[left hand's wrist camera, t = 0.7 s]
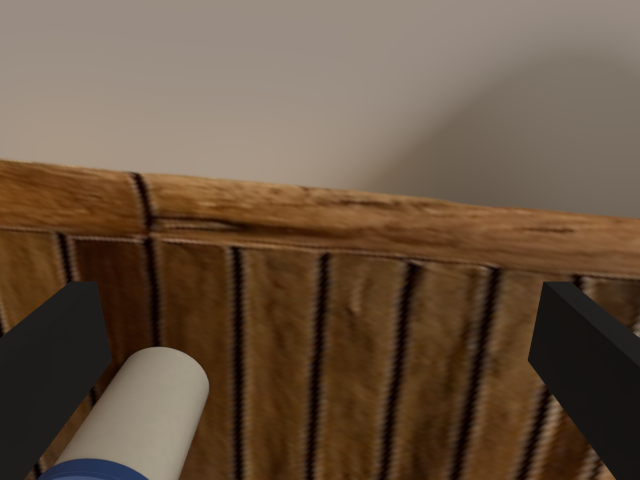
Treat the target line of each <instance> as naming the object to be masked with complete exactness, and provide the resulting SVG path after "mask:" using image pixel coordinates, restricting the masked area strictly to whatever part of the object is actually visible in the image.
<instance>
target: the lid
mask: <svg viewBox="0 0 640 480" xmlns="http://www.w3.org/2000/svg"><path fill="white" fill-rule="evenodd" d="M37 480H149V479H148V478H146V477H145V476H143V475H142V474H141V473H139V472H137V471H135V470H134V469H132V468H129V467H127V466H125V465H122V464H119V463H116V462H112V461H108V460H103V459H92V458H84V459H74V460H69V461H65V462H62V463H59V464H57V465H55V466H53V467H51V468H50V469H48V470H46V471H45V472H44V473H43V474H42V475H41V476H40V477H39V478H38V479H37Z"/></svg>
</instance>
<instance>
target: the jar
mask: <svg viewBox="0 0 640 480" xmlns="http://www.w3.org/2000/svg"><path fill="white" fill-rule="evenodd" d="M208 394H209V383H208V379H207V376H206V374H205V372H204V370H203V369H202V367H201V366H200V365H199V364H198V363H197V362H196V361H195V360H194V359H193V358H191V357H190V356H188V355H187V354H185V353H183V352H181V351H178V350H175V349H171V348H166V347H151V348H146V349H143V350H140V351H138V352H136V353H134V354H133V355H131V356H130V357H129V358H128V359H127V360H126V361H125V362H124V364H123V365H122V366H121V368H120V369H119V371H118V372H117V374H116V375H115V377H114V378H113V379H112V381H111V382H110V384H109V385H108V387H107V388H106V390H105V391H104V392H103V394H102V395H101V397H100V398H99V400H98V401H97V402H96V404H95V405H94V407H93V408H92V410H91V411H90V413H89V414H88V415H87V417H86V418H85V420H84V421H83V423H82V424H81V426H80V427H79V428H78V430H77V431H76V433H75V434H74V436H73V437H72V439H71V440H70V441H69V443H68V444H67V446H66V447H65V449H64V450H63V451H62V453H61V454H60V456H59V457H58V459H57V460H56V462H55V463H54V464H53V466H55V465H57V464H59V463H62V462H65V461H69V460H74V459H84V458H92V459H103V460H108V461H112V462H116V463H119V464H122V465H125V466H127V467H129V468H132V469H134V470H135V471H137V472H139V473H141V474H142V475H143V476H145V477H146V478H148V479H149V480H179V477H180V474H181V471H182V468H183V466H184V463H185V460H186V457H187V454H188V452H189V449H190V446H191V443H192V440H193V437H194V435H195V432H196V429H197V426H198V423H199V421H200V418H201V415H202V412H203V409H204V406H205V404H206V401H207V398H208ZM53 466H52V467H53Z"/></svg>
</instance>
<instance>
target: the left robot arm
mask: <svg viewBox="0 0 640 480" xmlns="http://www.w3.org/2000/svg"><path fill="white" fill-rule="evenodd" d="M111 362H112V357H111V352H110V347H109V342H108V337H107V332H106V327H105V322H104V317H103V312H102V307H101V302H100V297H99V292H98V287H97V282H69V283H68V284H67V285H66V286H64V287H63V288H62V289H61V290H59V291H58V292H57V293H56V294H54V295H53V296H52V297H51V298H49V299H48V300H47V301H46V302H44V303H43V304H42V305H41V306H40V307H38V308H37V309H36V310H35V311H33V312H32V313H31V314H30V315H28V316H27V317H26V318H25V319H23V320H22V321H21V322H20V323H18V324H17V325H16V326H15V327H13V328H12V329H11V330H10V331H8V332H7V333H6V334H5V335H4V336H2V337H1V338H0V480H24V479H25V477H26V476H27V475H28V473H29V472H30V471H31V469H32V468H33V467H34V465H35V464H36V463H37V461H38V460H39V459H40V457H41V456H42V454H43V453H44V452H45V450H46V449H47V448H48V446H49V445H50V444H51V442H52V441H53V440H54V438H55V437H56V436H57V434H58V433H59V432H60V430H61V429H62V428H63V426H64V425H65V424H66V422H67V421H68V419H69V418H70V417H71V415H72V414H73V413H74V411H75V410H76V409H77V407H78V406H79V405H80V403H81V402H82V401H83V399H84V398H85V397H86V395H87V394H88V393H89V391H90V390H91V388H92V387H93V386H94V384H95V383H96V382H97V380H98V379H99V378H100V376H101V375H102V374H103V372H104V371H105V370H106V368H107V367H108V366H109V364H110V363H111ZM528 362H529V363H530V364H531V366H532V367H533V368H534V370H535V371H536V372H537V374H538V375H539V376H540V378H541V379H542V380H543V382H544V383H545V384H546V386H547V387H548V388H549V390H550V391H551V393H552V394H553V395H554V397H555V398H556V399H557V401H558V402H559V403H560V405H561V406H562V407H563V409H564V410H565V411H566V413H567V414H568V415H569V417H570V418H571V419H572V421H573V422H574V424H575V425H576V426H577V428H578V429H579V430H580V432H581V433H582V434H583V436H584V437H585V438H586V440H587V441H588V442H589V444H590V445H591V446H592V448H593V449H594V450H595V452H596V453H597V454H598V456H599V457H600V459H601V460H602V461H603V463H604V464H605V465H606V467H607V468H608V469H609V471H610V472H611V473H612V475H613V476H614V477H615V479H616V480H640V338H639V337H638V336H636V335H635V334H634V333H633V332H632V331H630V330H629V329H628V328H627V327H625V326H624V325H623V324H622V323H620V322H619V321H618V320H617V319H615V318H614V317H613V316H612V315H610V314H609V313H608V312H607V311H605V310H604V309H603V308H602V307H600V306H599V305H598V304H597V303H596V302H594V301H593V300H592V299H591V298H589V297H588V296H587V295H586V294H584V293H583V292H582V291H581V290H579V289H578V288H577V287H576V286H574V285H573V284H572V283H571V282H543V287H542V292H541V297H540V302H539V307H538V312H537V317H536V322H535V327H534V332H533V337H532V342H531V347H530V352H529V357H528Z"/></svg>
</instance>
